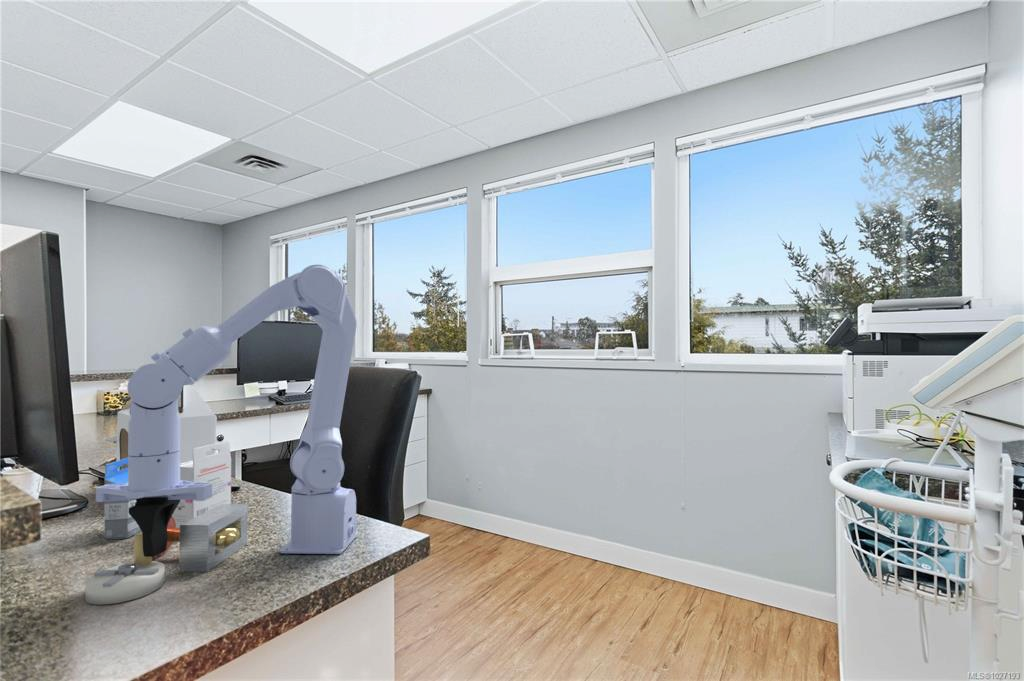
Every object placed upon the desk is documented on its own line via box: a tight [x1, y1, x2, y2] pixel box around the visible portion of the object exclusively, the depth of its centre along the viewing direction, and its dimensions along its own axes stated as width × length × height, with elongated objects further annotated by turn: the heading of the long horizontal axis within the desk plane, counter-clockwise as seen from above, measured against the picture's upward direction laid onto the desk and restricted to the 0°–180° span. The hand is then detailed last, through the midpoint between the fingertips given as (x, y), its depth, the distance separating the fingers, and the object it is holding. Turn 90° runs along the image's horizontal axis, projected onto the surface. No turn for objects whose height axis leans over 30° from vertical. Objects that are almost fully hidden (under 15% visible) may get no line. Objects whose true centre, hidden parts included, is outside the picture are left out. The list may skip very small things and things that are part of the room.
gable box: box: [115, 385, 218, 471], centre depth 109 cm, size 22×13×28 cm, turn 49°
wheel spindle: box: [118, 562, 136, 576], centre depth 63 cm, size 2×2×1 cm
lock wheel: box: [84, 531, 166, 606], centre depth 64 cm, size 8×8×6 cm
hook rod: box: [156, 516, 240, 557], centre depth 74 cm, size 13×6×6 cm, turn 89°
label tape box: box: [103, 458, 142, 540], centre depth 85 cm, size 9×4×12 cm, turn 5°
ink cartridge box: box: [172, 440, 232, 528], centre depth 86 cm, size 9×5×15 cm, turn 168°
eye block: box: [178, 503, 249, 573], centre depth 74 cm, size 4×10×6 cm, turn 179°
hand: (154, 553), depth 67 cm, fingers closed, pressing on lock wheel
